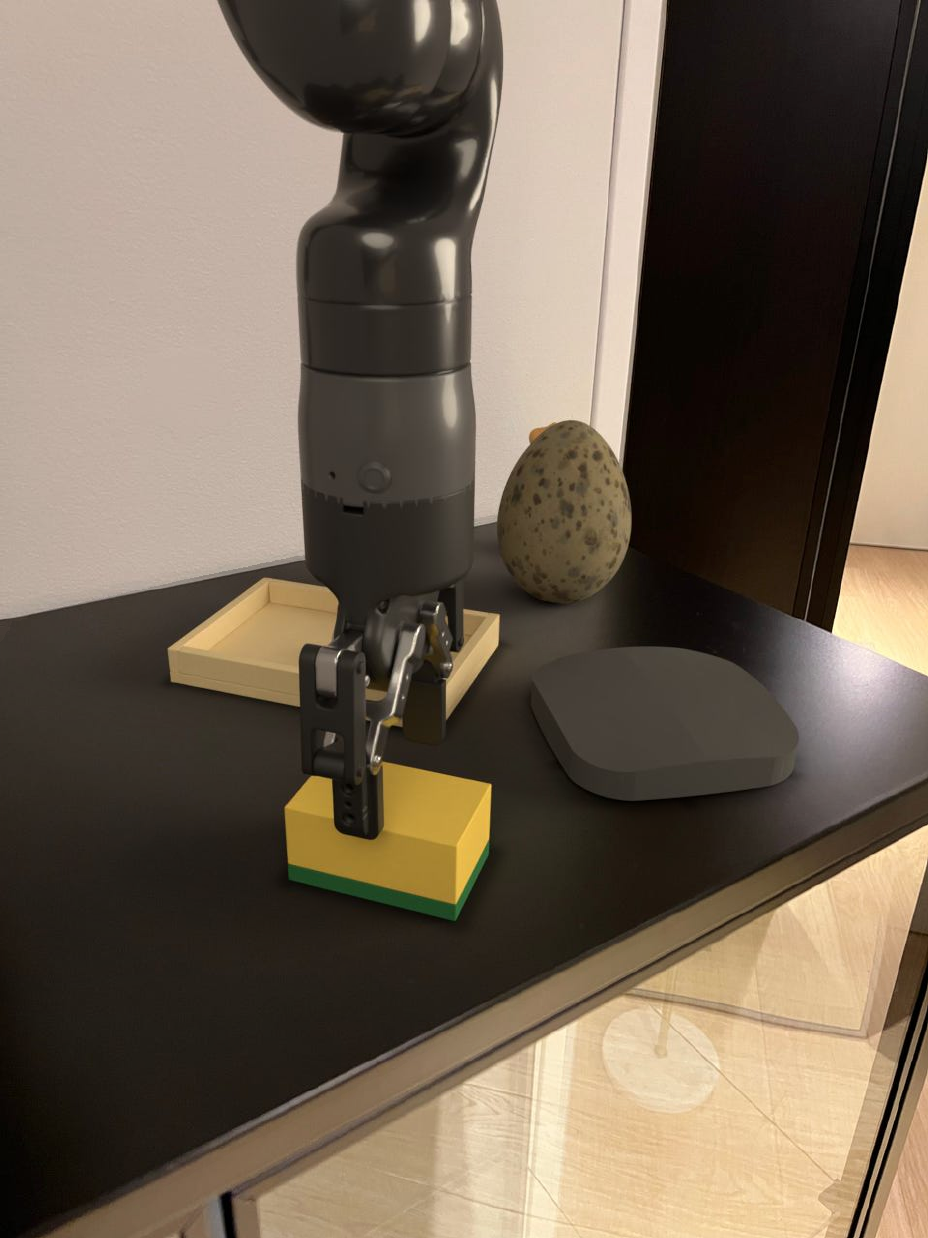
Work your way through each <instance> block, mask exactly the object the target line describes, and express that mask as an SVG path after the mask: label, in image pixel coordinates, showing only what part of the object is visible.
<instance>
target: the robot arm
mask: <svg viewBox="0 0 928 1238" xmlns="http://www.w3.org/2000/svg"><path fill="white" fill-rule="evenodd" d="M216 1H217V4H218V7H219V9H220V12H221V15H222V16H223V19H224V21H225V23H226V26H227V28H228V30H229V32H230V34H231V36H232V38H233V39H234V41H235V43H236V45H237V47H238V49H239V50H240V52H241V54H242V55H243V57H244V58H245V60H246V61H247V63H248V65H249V66H250V68H251V69H252V71H254V73H255V74H256V76H257V77H258V78H259V79H260V80H261V82H262V83H263V85H265V86H266V88H267V89H268V90H269V91H270V92H271V93H272V94H273V96H275V97H276V98H277V99H278V101H279V102H280V103H281V104H283V105H284V106H285V107H286V108H287V109H288V110H289V111H291V112H292V113H293V114H294V115H296V116H297V117H299V118H300V119H301V120H303V121H305V122H306V123H308V124H310V125H312V126H315V127H317V128H319V129H322V130H324V131H329V132H333V133H341V134H342V139H341V149H340V157H339V166H338V176H337V183H336V189H335V193H334V194H333V197H332V198H331V200H329V202H327V203H328V204H326V205H325V206H324V207H322V208H321V209H319V210H318V211H316V212H315V213H313V214H312V215H311V216H310V217H309V218H308V219H307V220H306V221H305V222H304V223H303V225H302V226H301V228H300V230H299V233H298V236H297V241H296V251H295V283H296V293H297V294H296V295H297V296H296V297H297V300H296V301H297V315H298V316H297V317H298V335H299V337H298V339H299V355H300V365H299V367H300V378H299V379H300V380H299V390H298V391H299V393H298V402H297V437H298V439H297V441H298V455H299V475H300V492H301V512H302V525H303V526H302V527H303V544H304V545H303V546H304V563H305V566H306V569H307V571H308V572H309V574H310V575H311V577H312V578H313V579H314V580H315V581H317V582H318V583H320V584H322V585H323V587H327V588H328V589H329V590H330V591H331V592H332V593H333V594H334V595H335V596H336V598H337V599H338V607H337V618H336V623H335V627H334V632H333V636H332V642H331V643H329V644H328V645H327V646H326V645H323V646H321V645H315V644H309V643H306V644H305V645H304V646H303V647H302V649H301V652H300V655H299V692H300V707H299V720H300V723H299V724H300V753H301V755H300V756H301V757H300V758H301V771H302V773H303V774H304V775H307V776H310V777H311V776H319V777H324V778H328V779H332V791H333V811H334V825H335V828H336V829H337V830H338V831H339V832H340V833H342V834H345V835H350V836H354V837H359V838H363V839H368V840H374V839H376V838H377V837H378V835H379V834H380V832H381V831H382V829H383V827H384V799H383V765H382V762H384V761H383V759H384V753H385V749H386V744H387V740H388V736H389V731H390V728H391V727H392V726H394V725H393V724H396V723H398V722H399V721H400V720H401V719H402V727H401V728H402V735H403V737H404V738H405V739H406V741H409V742H412V743H417V744H422V745H427V746H433V747H434V746H435V747H437V746H438V745H440V744H441V743H442V742H443V740H444V739H445V737H446V734H447V720H446V680H445V679H443V678H446V679H447V678H449V676H450V674H451V672H452V669H453V663H452V656H451V654H450V652H457V653H459V652H460V651H461V648H462V646H463V644H464V628H463V609H464V578H465V577H466V576H467V575H468V574H469V572H470V571H471V569H472V567H473V563H474V555H475V554H474V553H475V552H474V551H475V502H476V501H475V499H476V497H475V496H476V495H475V493H476V452H477V451H476V449H477V448H476V447H477V414H476V413H477V412H476V404H475V403H476V402H475V395H474V388H473V387H474V386H473V377H472V362H471V360H472V339H473V338H472V334H473V333H472V332H473V295H472V294H473V271H472V269H473V268H472V251H473V245H474V239H475V234H476V230H477V226H478V225H477V224H478V221H479V219H480V214H481V209H482V206H483V202H484V197H485V193H486V188H487V182H488V177H489V170H490V166H491V159H492V155H493V150H494V149H493V148H494V144H495V139H496V133H497V128H498V121H499V116H500V109H501V101H502V91H503V81H504V45H503V44H504V42H503V41H504V40H503V32H502V31H503V29H502V22H501V15H500V10H499V6H498V2H497V0H216ZM446 615H447V617H448V625H447V623H446V620H445V617H446ZM366 688H367V689H372V690H378V691H384V692H388V693H387V695H386V696H385V698H384V699H382V700H380V701H372V700H367V699H366ZM366 718H367V719H370V725H369V730H368V733H367V720H366ZM324 732H325V735H324ZM367 734H368V735H367Z"/></svg>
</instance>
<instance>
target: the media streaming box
mask: <svg viewBox="0 0 928 1238" xmlns="http://www.w3.org/2000/svg"><path fill="white" fill-rule="evenodd" d="M530 694H531V695H530V698H531V699H530V707H531V710H532V713H533V714H534V717H535V719H536V722H537V724H538V726H539V728H540V730H541V732H542V734H543V736H544V738H545V740H546V741H547V743H548V745H549V747H550V749H551V751H552V752H553V754H554V756H555V757H556V759H557V760H558V762H559V764H560V766H561V767H562V769H563V771H564V772H565V773H566V775H567V777H568V778H569V779H570V780H571V781H572V782H574V783H575V784H576V785H578V786H579V787H581V788H582V789H583V790H586V791H588V792H590V793H593V794H595V795H597V796H600V797H604V798H608V799H613V800H617V801H618V800H619V801H629V802H636V801H637V802H638V801H651V800H664V799H674V798H675V799H677V798H686V797H695V796H705V795H714V794H715V795H716V794H722V793H731V792H737V791H738V792H739V791H745V790H746V791H747V790H753V789H760V788H764V787H766V788H767V787H771V786H775V785H777V784H780V783H782V782H784V781H785V780H786V779H788V778H789V777H790V776H791V774H792V773H793V770H794V767H795V761H796V756H797V751H798V746H799V740H800V734H799V731H798V728H797V726H796V724H795V723H794V722H793V720H792V719H791V717H790V715H789V714H788V713H787V712H786V710H785V709H784V707H783V706H782V705H781V704H780V703H779V701H778V700H777V699H776V698H775V697H774V695H773V694H772V693H771V692H770V691H769V690H768V689H767V688H766V687H765V686H764V685H763V684H762V683H760V682H759V680H757V679H756V678H755V677H754V676H753V675H751V674H750V673H749V672H748V671H746V670H745V669H743V668H742V667H741V666H739V665H737V664H736V663H734V662H732V661H730V660H727V659H725V658H722V657H719V656H716V655H713V654H709V653H705V652H701V651H696V650H692V649H689V648H688V649H687V648H681V647H671V646H622V647H612V648H604V649H603V648H602V649H595V650H589V651H584V652H578V653H574V654H573V653H572V654H569V655H564V656H560V657H558V658H555V659H553V660H550V661H548V662H546V663H545V664H543V665H541V666H540V667H538V668H537V669H536V670H535V671H534V673H533V674H532V678H531V693H530Z"/></svg>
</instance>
